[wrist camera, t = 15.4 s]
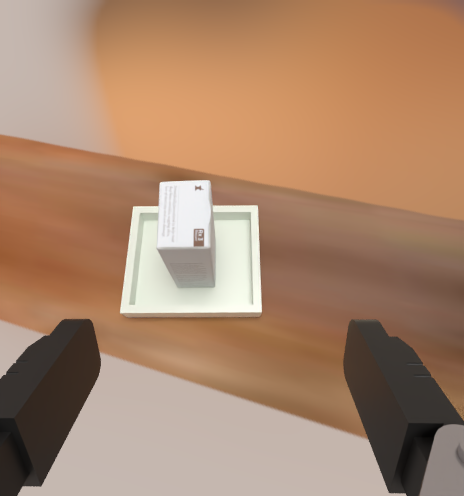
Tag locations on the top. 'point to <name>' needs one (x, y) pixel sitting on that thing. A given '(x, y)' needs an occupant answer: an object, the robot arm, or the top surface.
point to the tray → (196, 298)
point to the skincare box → (187, 232)
